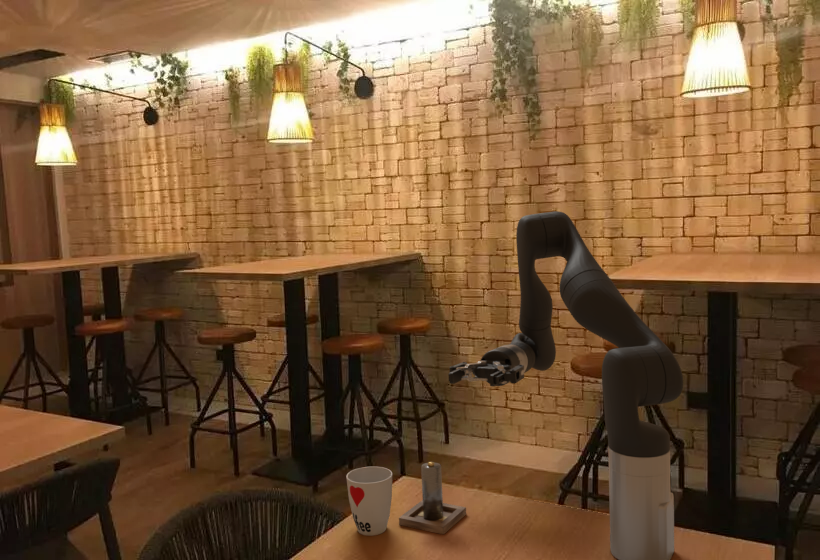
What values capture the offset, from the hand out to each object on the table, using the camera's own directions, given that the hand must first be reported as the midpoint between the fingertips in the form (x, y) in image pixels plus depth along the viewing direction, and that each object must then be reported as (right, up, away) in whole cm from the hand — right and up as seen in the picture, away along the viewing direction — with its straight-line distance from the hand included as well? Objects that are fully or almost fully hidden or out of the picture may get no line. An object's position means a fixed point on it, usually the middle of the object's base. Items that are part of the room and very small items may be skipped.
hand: (471, 379), depth 131 cm
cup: (-18, -26, -8) cm, 33 cm away
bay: (-7, -25, -5) cm, 26 cm away
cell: (-7, -24, -5) cm, 26 cm away
